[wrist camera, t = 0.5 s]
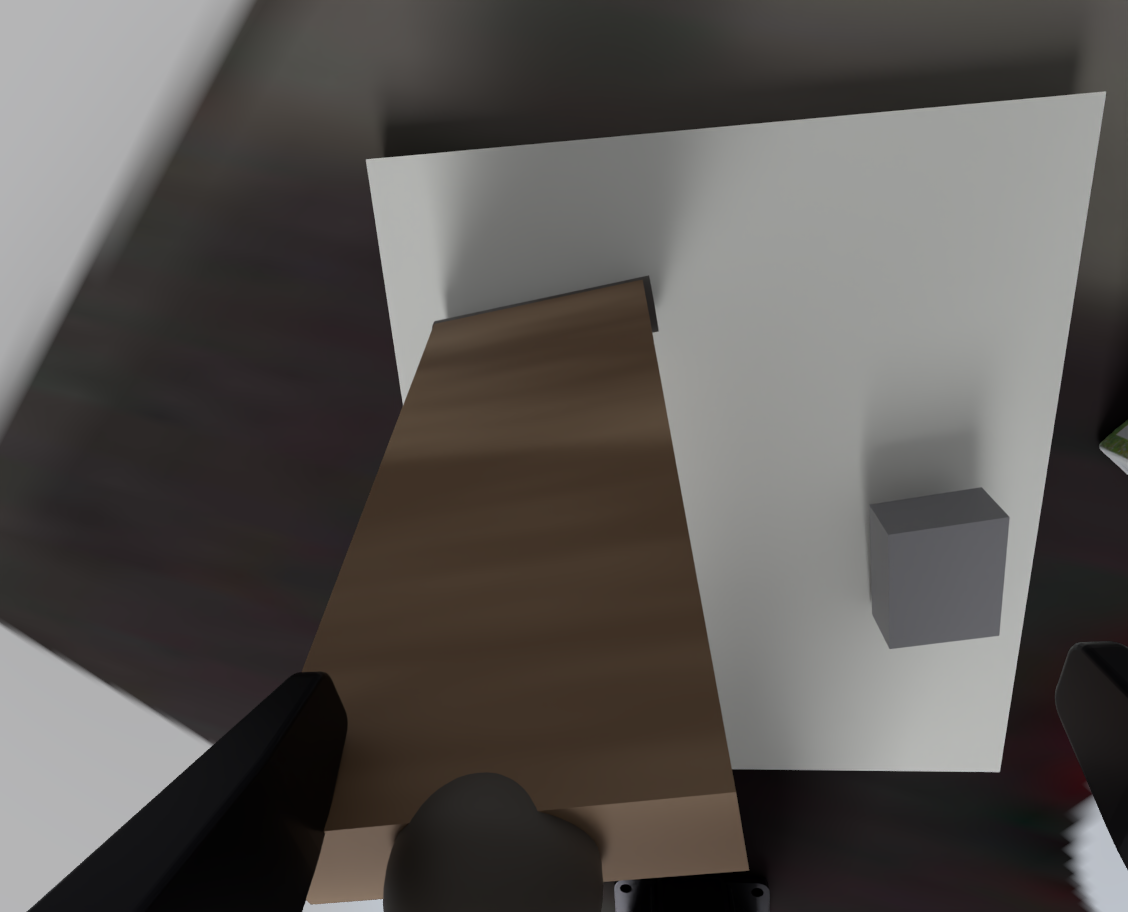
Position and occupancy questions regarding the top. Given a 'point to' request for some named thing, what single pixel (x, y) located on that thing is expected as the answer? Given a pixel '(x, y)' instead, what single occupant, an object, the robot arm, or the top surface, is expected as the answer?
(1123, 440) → the syrup box
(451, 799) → the walnut lever
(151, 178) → the top surface
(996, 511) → the grey rectangular block
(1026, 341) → the control panel
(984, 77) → the top surface
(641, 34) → the top surface
